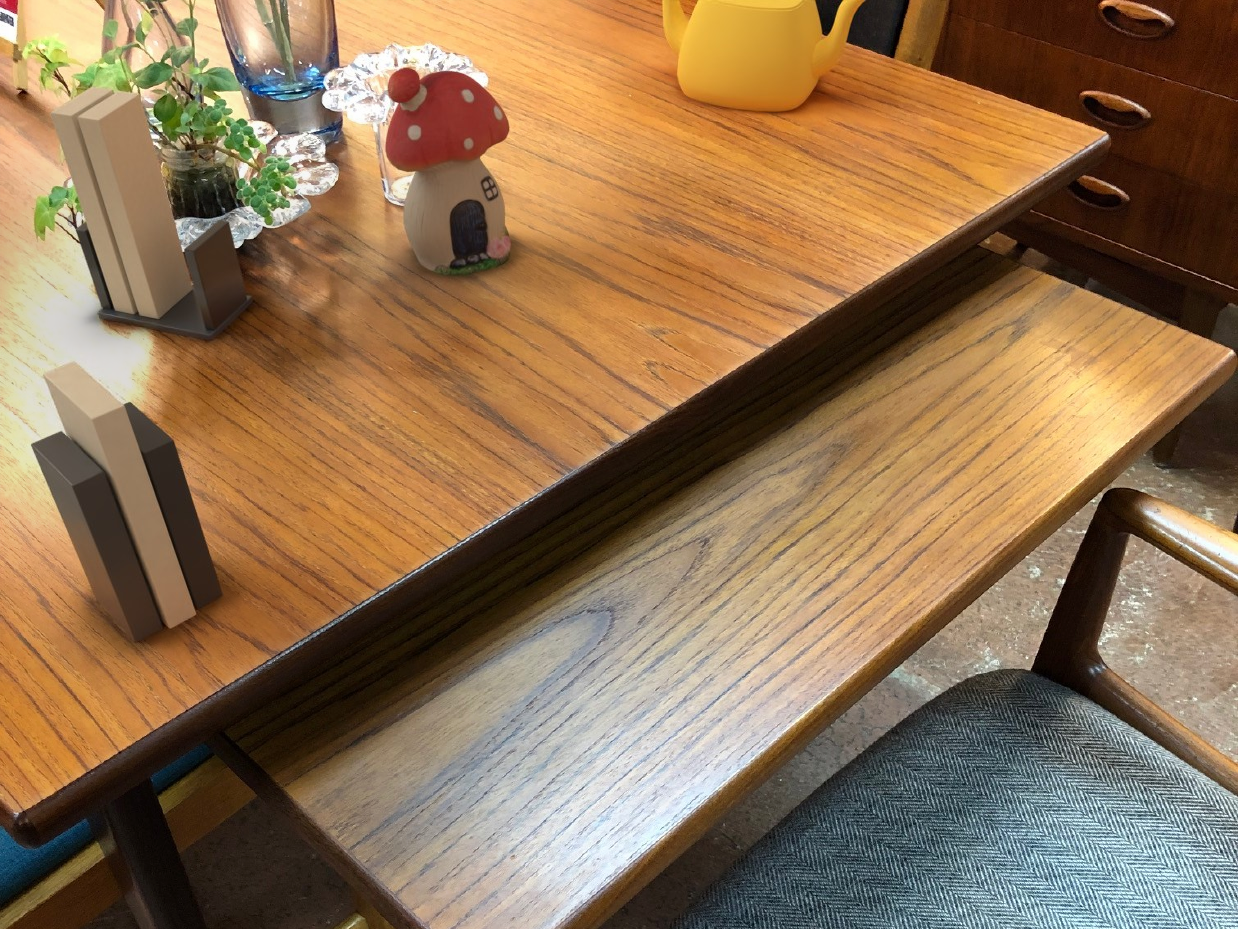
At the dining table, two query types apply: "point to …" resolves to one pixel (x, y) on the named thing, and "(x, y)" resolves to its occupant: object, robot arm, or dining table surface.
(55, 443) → the pair of brown blocks
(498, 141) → the decorative ornament
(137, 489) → the white book
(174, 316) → the book rack
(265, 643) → the dining table surface
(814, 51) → the teapot
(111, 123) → the shelved white books
